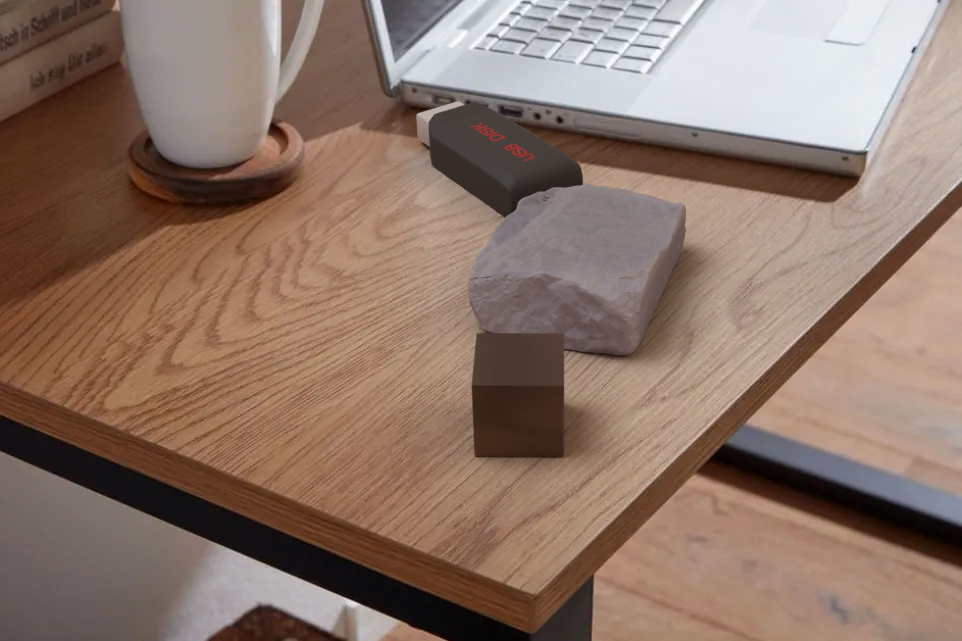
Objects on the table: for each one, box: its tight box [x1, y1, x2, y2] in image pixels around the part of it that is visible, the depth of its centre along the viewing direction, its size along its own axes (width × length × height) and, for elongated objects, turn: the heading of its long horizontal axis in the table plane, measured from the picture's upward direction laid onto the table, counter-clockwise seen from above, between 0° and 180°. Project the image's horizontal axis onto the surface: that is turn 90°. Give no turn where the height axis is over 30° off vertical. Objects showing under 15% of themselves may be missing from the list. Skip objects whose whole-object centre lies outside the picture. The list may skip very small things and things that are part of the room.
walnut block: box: [471, 332, 565, 458], centre depth 60 cm, size 4×4×4 cm
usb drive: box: [415, 100, 584, 218], centre depth 82 cm, size 5×12×3 cm, turn 33°
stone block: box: [467, 183, 687, 356], centre depth 70 cm, size 12×5×10 cm
